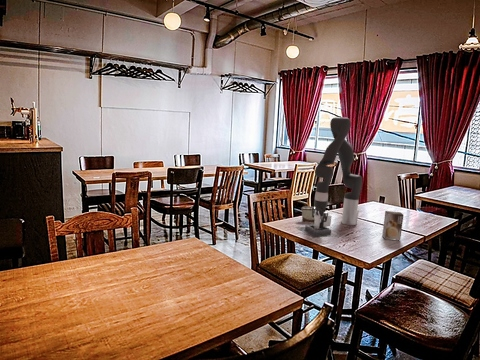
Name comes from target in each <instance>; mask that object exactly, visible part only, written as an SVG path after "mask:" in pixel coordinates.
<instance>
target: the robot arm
mask: <svg viewBox="0 0 480 360" xmlns="http://www.w3.org/2000/svg"><path fill="white" fill-rule="evenodd" d="M329 126H330V131H331V133H332V137H333V139H334V140H332V141H331V142H330V144H329V145H328V146H326V149H325V150H324V154H323V156H322V159H321V160H320V161H319V163H318V164H317V165H316V166H315V169H314V175H315V177H318V178H320V179H321V178H323V179H324V180H323V181H317V183H316V188H315V189H316V190H315V194H314V201H313V207H315V208H312V217H313V218H314V221H315V215H316V214H317V215H318V216H319V219H320V225H319V228H320V229H321V228H323V225H324V222H326V221H327V217H328V215H329V212H326V208H327V207H328V201H329V190H330V189H329V187H330V184H331V181H332V179H333V176H334V168H333V167H332V166H331V165H334V163H335V161H336V158H337V156H338V159H339V162H340V168H341V172H342V173H341V174H342V181H343V182H342V183H343V186H344V187H346V188H349V189H352V190H351V192H346V193H344V198H343V206H342V214H341V215H342V216H341V223H342V224H343V225H347V226H355V225H358V218H359V210H358V208H359V200H360V196H361V192H362V186H363V178H362V176H361V175H359V174H354V173H352V172H351V166H352V164H353V162H354V161H355V153H354V149H353V147H352V145H351V144H350V143H349V142H348V141H347V140H346V137H347V136H348V134H349V131H350V129H351V126H352V123H351V119H350V118H348V117H339V116H338V117H333V118H331V120H330V124H329ZM329 165H330V166H329ZM314 213H315V214H314ZM321 216H323V217H321ZM324 219H325V220H324Z"/></svg>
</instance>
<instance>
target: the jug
mask: <svg viewBox="0 0 480 360" xmlns="http://www.w3.org/2000/svg"><path fill="white" fill-rule="evenodd" d="M321 217H323V216H321ZM324 220H325V219H324ZM331 224H332V215H330V214H328V217H327V221H326V222H324V225H323V227H327V228H329V227H331ZM313 225H314V229H316V230H321V229H323V228H321V229H320V228H319V225H320V219H319V216H318V215H317V214H316V215H315V221H314V222H313Z"/></svg>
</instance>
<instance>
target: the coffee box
mask: <svg viewBox="0 0 480 360" xmlns="http://www.w3.org/2000/svg"><path fill="white" fill-rule="evenodd" d="M403 222H404V214H403V212H399V211H392V210H385V211H384V218H383V226H382V237H384V238H385V239H384V238H383V239H384V240H388V239H396V240H395V241H398V240H400V241H401V238H402V230H403Z"/></svg>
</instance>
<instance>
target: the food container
mask: <svg viewBox="0 0 480 360" xmlns="http://www.w3.org/2000/svg"><path fill="white" fill-rule="evenodd" d="M312 208H315V206H310V205H309V206H308V205H307V206H302V207H301V208H300V209H301V210H300V211H301V217H302V218H301V222H302V223H305V222H310V223H314V218H313V217H312ZM314 214H315V213H314Z"/></svg>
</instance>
